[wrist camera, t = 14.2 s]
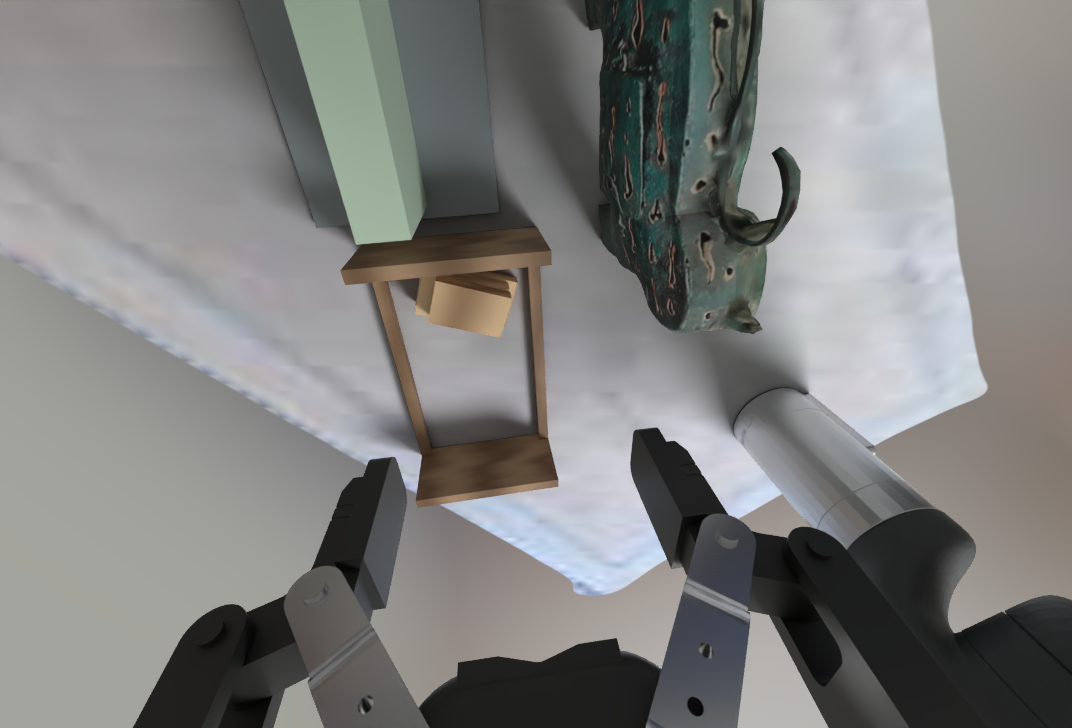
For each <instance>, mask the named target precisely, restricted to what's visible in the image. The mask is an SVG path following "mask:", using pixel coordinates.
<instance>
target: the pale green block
mask: <svg viewBox="0 0 1072 728" xmlns="http://www.w3.org/2000/svg"><path fill="white" fill-rule="evenodd" d="M284 3H285V7H286V10H287V14H288V17H289V20H290V24H291V27H292V30H293V34H294V37H295V41H296V44H297V47H298V51H299V54H300V57H301V61H302V64H303V68H304V71H305V74H306V78H307V81H308V84H309V88H310V91H311V95H312V98H313V101H314V105H315V108H316V111H317V115H318V118H319V122H320V125H321V128H322V132H323V135H324V138H325V142H326V145H327V149H328V152H329V155H330V159H331V162H332V165H333V169H334V172H335V176H336V179H337V182H338V186H339V189H340V193H341V196H342V199H343V203H344V206H345V209H346V213H347V216H348V220H349V223H350V226H351V230H352V233H353V236H354V240H355V243H356V245H358V244H369V243H380V242H391V241H402V240H411V239H412V237H413V235H414V233H415V231H416V229H417V226H418V224H419V222H420V220H421V218H422V216H423V214H424V211H425V209H426V207H427V202H426V197H425V191H424V186H423V181H422V175H421V170H420V165H419V160H418V154H417V149H416V144H415V139H414V133H413V128H412V123H411V117H410V112H409V107H408V102H407V96H406V91H405V86H404V81H403V75H402V70H401V65H400V59H399V54H398V49H397V44H396V38H395V33H394V28H393V23H392V17H391V12H390V7H389V1H388V0H284Z"/></svg>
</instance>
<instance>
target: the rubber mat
mask: <svg viewBox="0 0 1072 728" xmlns="http://www.w3.org/2000/svg"><path fill="white" fill-rule="evenodd" d="M388 1H389V7H390V12H391V17H392V23H393V28H394V33H395V38H396V44H397V49H398V54H399V59H400V65H401V70H402V75H403V81H404V86H405V91H406V96H407V102H408V107H409V112H410V117H411V123H412V128H413V133H414V139H415V144H416V149H417V154H418V160H419V165H420V170H421V175H422V181H423V186H424V191H425V197H426V202H427V207H426V209H425V211H424V214H423V216H422V218H421V219H428V218H439V217H451V216H463V215H475V214H487V213H499V204H498V193H497V183H496V172H495V162H494V152H493V141H492V131H491V121H490V110H489V100H488V90H487V79H486V69H485V59H484V48H483V38H482V28H481V17H480V7H479V0H388ZM239 2H240V5H241V8H242V11H243V14H244V17H245V20H246V23H247V25H248V28H249V31H250V34H251V37H252V40H253V43H254V46H255V49H256V52H257V55H258V58H259V61H260V64H261V67H262V69H263V72H264V75H265V78H266V81H267V84H268V87H269V90H270V93H271V96H272V99H273V102H274V105H275V108H276V111H277V114H278V116H279V119H280V122H281V125H282V128H283V131H284V134H285V137H286V140H287V143H288V146H289V149H290V152H291V155H292V158H293V160H294V163H295V166H296V169H297V172H298V175H299V178H300V181H301V184H302V187H303V190H304V193H305V196H306V199H307V202H308V205H309V207H310V210H311V213H312V216H313V219H314V222H315V225H316V228H321V227H333V226H344V225H350V223H349V220H348V216H347V213H346V209H345V206H344V203H343V199H342V196H341V193H340V189H339V186H338V182H337V179H336V176H335V172H334V169H333V165H332V162H331V159H330V155H329V152H328V149H327V145H326V142H325V138H324V135H323V132H322V128H321V125H320V122H319V118H318V115H317V111H316V108H315V105H314V101H313V98H312V95H311V91H310V88H309V84H308V81H307V78H306V74H305V71H304V68H303V64H302V61H301V57H300V54H299V51H298V47H297V44H296V41H295V37H294V34H293V30H292V27H291V24H290V20H289V17H288V14H287V10H286V7H285V3H284V0H239Z"/></svg>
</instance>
